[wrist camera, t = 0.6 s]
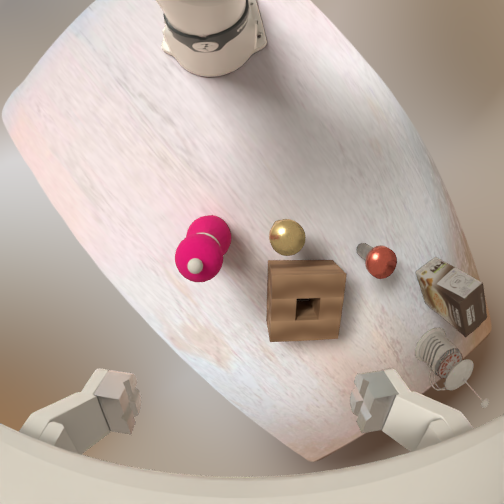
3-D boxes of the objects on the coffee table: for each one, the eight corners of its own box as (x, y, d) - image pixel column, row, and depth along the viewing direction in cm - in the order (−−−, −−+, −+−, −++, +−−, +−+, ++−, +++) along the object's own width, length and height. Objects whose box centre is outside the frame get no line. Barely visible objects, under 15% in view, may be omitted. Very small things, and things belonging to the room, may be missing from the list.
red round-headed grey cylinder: (351, 235, 53) (371, 247, 44) (376, 236, 53) (398, 247, 45) (349, 262, 54) (367, 279, 46) (373, 262, 55) (394, 278, 46)
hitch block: (268, 260, 54) (272, 275, 46) (332, 260, 54) (346, 274, 46) (266, 320, 57) (270, 341, 49) (326, 318, 57) (337, 338, 50)
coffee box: (413, 272, 56) (458, 302, 40) (435, 256, 55) (482, 280, 39) (424, 304, 58) (465, 338, 42) (445, 288, 57) (488, 318, 42)
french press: (451, 329, 60) (511, 383, 36) (431, 367, 63) (481, 427, 39) (426, 325, 59) (488, 386, 35) (405, 366, 62) (454, 433, 38)
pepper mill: (214, 204, 51) (198, 222, 32) (240, 236, 52) (239, 274, 33) (182, 229, 52) (150, 262, 32) (208, 260, 53) (190, 309, 34)
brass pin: (265, 212, 52) (270, 220, 43) (295, 212, 52) (306, 220, 43) (264, 241, 53) (269, 255, 44) (294, 241, 53) (304, 255, 44)
